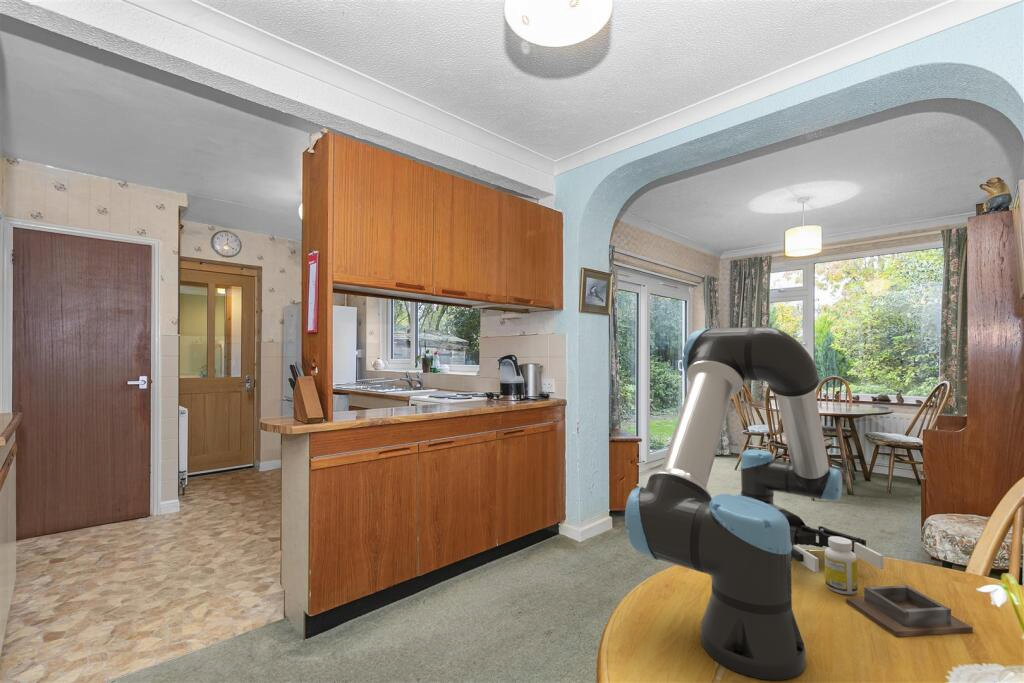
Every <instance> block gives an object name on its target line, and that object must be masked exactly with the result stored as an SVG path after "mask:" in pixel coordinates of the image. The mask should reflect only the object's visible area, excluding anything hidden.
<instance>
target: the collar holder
mask: <svg viewBox="0 0 1024 683" xmlns="http://www.w3.org/2000/svg"><path fill="white" fill-rule="evenodd" d="M863 596H864V597H862V596H861V597H847V598H845V603H846V604H848V605H849V606H851V607H852V608H853V609H855V610H856V611H858V612H859V613H861V614H862V615H864V616H865V617H866V618H868V619H869V620H871V621H873V623H876V624H877V625H878V626H879V627H881V628H883V629H884V630H886V631H887V632H889V633H890V634H891V635H893V636H895V637H896V638H897V637H910V636H912V637H913V636H928V635H931V636H932V635H943V634H946V635H947V634H960V633H961V634H962V633H973V632H974V628H973V626H971V625H970V624H968V623H966V622H965V621H963V620H961V619H959V618H957V617H956V616H953V615H952V609H950V607H948V606H946V605H943V604H942V603H940V602H938V601H936V600H934V599H933V598H931V597H929V596H927V595H925V594H923V593H922V592H920V591H919V590H916V589H914V588H912V587H910V586H909V585H907V584H906V585H905V584H904V585H903V584H902V585H886V586H867V587H866V586H865V587H863Z"/></svg>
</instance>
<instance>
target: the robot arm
mask: <svg viewBox="0 0 1024 683" xmlns="http://www.w3.org/2000/svg"><path fill="white" fill-rule="evenodd" d="M682 352H683V355H682V361H681V362H682V368H683V370H684V373H685V374H686V377H687V380H688V381H689V382H690V383H689V387H688V390H687V393H686V396H685V398H684V401H683V404H682V406H681V407H682V408H681V410H680V414H679V416H678V418H677V421H676V425H675V427H674V431H673V433H672V436H671V439H670V442H669V444H668V445H669V446H668V448H667V451H666V454H665V457H664V460H663V462H662V466H661V468H660V470H659V471H657V472H653V473H652V474H651V475H650V476H649V478H648V481H647V483H646V486H645V487H644V486H639V487H635V488H633V489H632V490H631V491H630V493H629V494H628V497H627V500H626V505H625V508H624V509H625V510H624V511H625V512H624V523H625V524H624V525H625V531H626V537H627V539H628V541H629V544H630V546H631V547H632V548H633V549H634V550H635V551H636V552H637V553H639V554H642V555H645V556H648V557H650V558H652V559H653V560H655V561H663V562H667V563H669V564H673V565H676V566H680V567H682V568H686V569H690V570H692V571H696V572H699V573H703V574H707V575H710V579H711V594H710V597H709V600H708V603H707V607H706V608H705V611H704V615H703V618H702V620H701V625H700V640H701V645H702V647H703V648H704V650H705V651H706V653H707V654H708V655H709V656H710V657H711V658H712V659H714V660H715V661H716V662H718V663H719V664H721V665H722V666H724V667H726V668H728V669H730V670H732V671H735V672H737V673H738V674H741V675H745V676H748V677H752V678H756V679H759V680H761V679H762V680H768V681H769V680H770V681H781V680H782V681H783V680H784V681H785V680H789V679H792V678H793V679H794V678H795V677H797V676H799V675H801V674H802V673H803V672H804V670H805V668H806V662H807V659H806V658H807V656H806V655H807V654H806V646H805V643H804V640H803V636H802V634H801V631H800V628H799V626H798V623H797V621H796V620H797V619H796V618H795V614H794V611H793V605H792V604H793V602H792V601H793V599H792V595H793V594H792V593H793V592H792V561H793V560H794V561H796V562H798V563H800V564H802V565H803V566H804V567H805V568H807V569H809V570H811V571H812V572H814V573H819V572H820V571H819V570H820V568H819V567H820V564H819V562H820V561H819V557H817V556H815V555H814V554H812V553H810V552H808V551H807V550H805V549H803V548H802V547H800V546H799V545H801V546H814V547H817V548H823V547H826V548H828V547H830V546H829V545H828V538H829V537H831V536H837V537H843V538H846V539H849V540H851V541H852V550H851V551H852V552H853V553H855V555H856V557H857V558H858V559H860V560H862V561H863V562H865V563H867V564H869V565H871V566H873V567H875V568H877V569H878V570H884V555H883V554H882V553H880V552H877V551H875V550H873V549H871V548H869V547H868V546H867V540H865V539H863V538H860V537H856V536H853V535H849V534H847V533H841V532H839V531H835V530H832V529H829V528H827V527H824V526H822V525H821V526H820V525H819V526H818V529H816V528H811V527H810V526H807V525H806V524H805V522H804V521H803V519H802V518H801V517H800V516H798V515H797V514H795V513H792V512H791V511H790V510H787V509H786V508H784V507H781V506H779V505H777V504H776V503H774V497H775V496H774V494H775V492H780V493H783V494H785V493H786V494H791V495H797V496H801V497H807V498H813V499H817V500H826V501H827V500H828V501H832V502H833V501H838V500H840V499H841V497H842V492H843V475H842V472H841V471H840V470H839V469H837V468H832V467H830V466H829V465H830V464H829V461H828V460H829V459H828V456H827V448H826V445H825V438H824V433H823V432H824V431H823V427H822V420H821V416H820V409H819V404H818V399H817V394H816V390H817V389H818V387H819V385H820V379H819V378H820V377H819V373H818V372H819V371H818V368H817V365H816V363H815V361H814V360H813V358H812V356H811V354H810V353H809V352H808V351H807V349H806V348H805V347H804V346H803V345H802V344H801V342H799V341H798V340H796V338H794V337H793V336H792V335H790V334H789V333H787V332H785V331H783V330H781V329H779V328H775V327H771V326H763V325H762V326H750V327H749V326H746V327H743V326H742V327H738V326H737V327H715V326H714V327H708V328H707V327H706V328H702V329H696V330H694V331H693V332H691V334H689V336H688V337H687V339H686V341H685V344H684V346H683V351H682ZM745 381H754V382H755V381H756V382H757V381H763V382H766V383H767V385H768V388H769V390H770V392H771V393H773V394H774V395H775V397H776V401H777V406H778V410H779V415H780V420H781V423H782V428H783V432H784V435H785V436H784V437H785V441H786V445H787V449H788V454H789V459H790V462H786V461H780V460H775V457H774V455H773V453H772V452H771V451H767V450H763V449H745V450H744V451H743V452H742V453H741V458H740V460H741V462H740V463H741V464H740V468H739V469H740V477H741V478H740V480H741V483H740V484H741V491H740V493H738V494H735V495H733V494H730V493H721V494H716V495H714V496H712V495H711V493H710V492H709V490H708V489H707V486H708V482H709V479H710V474H711V471H712V467H713V465H714V461H715V457H716V453H717V450H718V447H719V443H720V440H721V436H722V432H723V429H724V427H725V422H726V418H727V414H728V411H729V407H730V404H731V401H732V396H734V395H737V394H738V393H740V392H741V390H742V388H743V386H744V383H745ZM817 537H818V542H817Z"/></svg>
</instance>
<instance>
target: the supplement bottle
mask: <svg viewBox="0 0 1024 683" xmlns="http://www.w3.org/2000/svg"><path fill="white" fill-rule="evenodd" d="M828 545H829V546H830V547H826V548H825V549H824V579H825V580H824V581H825V586H826V588H827V589H829V590H830V591H832V592H835V593H837V594H841V595H849V596H850V595H855V594H857V593H858V559H857V558H858V557H856V555H855V553H853V552H852V551H851V550H852V541H851V540H849V539H846V538H843V537H837V536H831V537H829V538H828Z"/></svg>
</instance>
